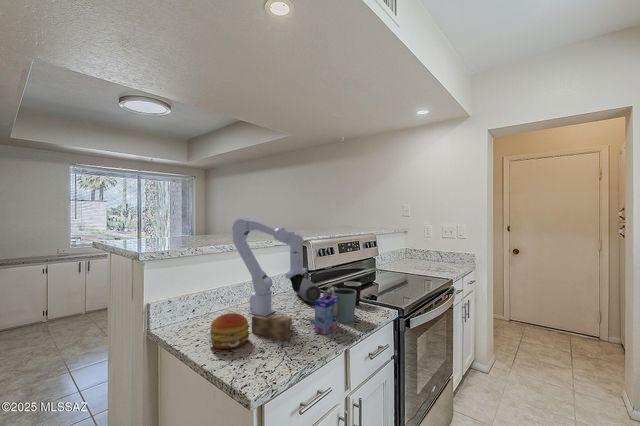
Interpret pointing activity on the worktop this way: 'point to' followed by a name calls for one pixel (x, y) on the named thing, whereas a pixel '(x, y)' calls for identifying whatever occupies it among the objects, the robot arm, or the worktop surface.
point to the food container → (329, 290)
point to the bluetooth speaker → (308, 291)
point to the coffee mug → (354, 286)
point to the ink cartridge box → (326, 314)
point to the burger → (229, 331)
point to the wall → (271, 327)
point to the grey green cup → (345, 304)
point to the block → (283, 318)
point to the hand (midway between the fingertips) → (296, 291)
